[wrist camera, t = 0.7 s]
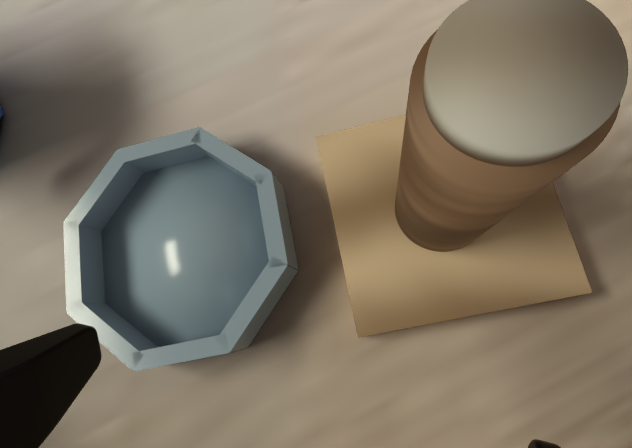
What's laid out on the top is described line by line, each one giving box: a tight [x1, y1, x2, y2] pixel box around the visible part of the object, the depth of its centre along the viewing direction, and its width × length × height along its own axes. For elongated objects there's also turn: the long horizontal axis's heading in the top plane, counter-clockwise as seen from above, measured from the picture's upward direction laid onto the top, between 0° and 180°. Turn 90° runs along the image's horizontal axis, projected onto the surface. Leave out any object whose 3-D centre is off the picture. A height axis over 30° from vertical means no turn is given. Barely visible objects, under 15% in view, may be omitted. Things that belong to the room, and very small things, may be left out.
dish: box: [63, 127, 299, 371], centre depth 21 cm, size 12×12×3 cm
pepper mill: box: [395, 0, 628, 252], centre depth 14 cm, size 5×5×12 cm
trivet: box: [316, 114, 592, 337], centre depth 20 cm, size 11×11×1 cm
